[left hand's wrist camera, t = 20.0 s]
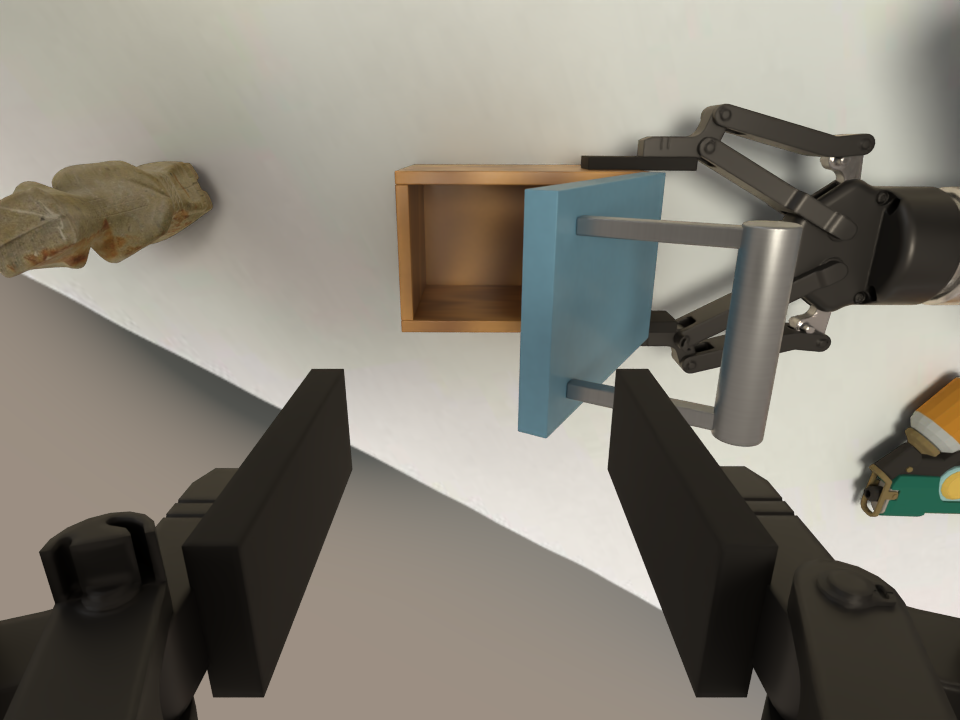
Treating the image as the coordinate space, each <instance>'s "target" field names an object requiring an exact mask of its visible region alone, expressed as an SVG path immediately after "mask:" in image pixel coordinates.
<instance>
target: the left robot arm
mask: <svg viewBox="0 0 960 720" xmlns="http://www.w3.org/2000/svg"><path fill="white" fill-rule="evenodd" d="M351 471H352V460H351V448H350V436H349V424H348V413H347V401H346V389H345V378H344V369H311V371H310V372H309V374H308V375H307V376H306V378H305V379H304V380H303V382H302V383H301V384H300V386H299V387H298V388H297V390H296V391H295V393H294V394H293V395H292V397H291V398H290V399H289V401H288V402H287V403H286V405H285V406H284V408H283V409H282V410H281V412H280V413H279V414H278V416H277V417H276V418H275V420H274V421H273V422H272V424H271V425H270V427H269V428H268V429H267V431H266V432H265V433H264V435H263V436H262V438H261V439H260V440H259V442H258V443H257V444H256V446H255V447H254V448H253V450H252V451H251V452H250V454H249V455H248V456H247V458H246V459H245V461H244V462H243V463H242V465H241V466H240V467H239V468H215V469H214V470H212V471H210V472H209V473H207V474H206V475H204V476H203V477H201V478H199V479H198V480H196V481H195V482H193V483H192V484H191V485H190V487H189V488H188V489H187V490H186V491H185V493H184V494H183V495H182V496H181V497H180V498H179V500H178V503H175V504H174V506H173V507H172V508H171V509H170V510H169V512H168V513H167V514H166V515H167V516H166V518H163V519H162V520H161V521H160V522H159V523H158V525H157V526H156V527H155V524H154V521H153V520H152V519H150V518H149V517H148V516H147V515H145V514H140V513H135V512H117V513H108V514H104V515H101V516H96V517H93V518H89V519H86V520H84V521H82V522H79V523H77V524H75V525H72V526H70V527H68V528H66V529H65V530H63V531H62V532H60V533H59V534H57V535H56V536H54V537H53V538H51V539H50V540H49V541H48V542H47V543H46V545H45V546H44V547H43V548H42V549H41V550H40V551H39V553H40V556H41V560H42V563H43V566H44V569H45V573H46V576H47V579H48V582H49V585H50V589H51V592H52V595H53V598H54V601H55V605H54V608H53V609H51V610H47V611H44V612H39V613H34V614H30V615H25V616H21V617H16V618H11V619H7V620H2V621H0V720H198V717H197V711H196V705H195V701H194V694H195V692H196V690H197V688H198V686H199V684H200V682H201V680H202V678H203V676H204V675H205V673H206V671H207V670H208V675H209V680H210V685H211V689H212V694H213V697H264V696H265V693H266V690H267V688H268V685H269V683H270V680H271V678H272V675H273V672H274V670H275V667H276V665H277V662H278V660H279V657H280V654H281V652H282V649H283V647H284V644H285V641H286V639H287V636H288V634H289V631H290V629H291V626H292V623H293V621H294V618H295V616H296V613H297V610H298V608H299V605H300V603H301V600H302V598H303V595H304V593H305V590H306V587H307V585H308V582H309V580H310V577H311V574H312V572H313V569H314V567H315V564H316V562H317V559H318V556H319V554H320V551H321V549H322V546H323V544H324V541H325V538H326V536H327V533H328V530H329V528H330V526H331V523H332V520H333V518H334V515H335V513H336V510H337V508H338V505H339V502H340V500H341V497H342V495H343V492H344V489H345V487H346V484H347V482H348V479H349V477H350V474H351ZM608 471H609V474H610V477H611V479H612V482H613V484H614V487H615V490H616V492H617V495H618V497H619V500H620V502H621V505H622V508H623V510H624V513H625V515H626V518H627V520H628V523H629V526H630V528H631V531H632V533H633V536H634V538H635V541H636V544H637V546H638V549H639V551H640V554H641V556H642V559H643V562H644V564H645V567H646V569H647V572H648V575H649V577H650V580H651V582H652V585H653V587H654V590H655V593H656V595H657V598H658V600H659V603H660V605H661V608H662V611H663V613H664V616H665V618H666V621H667V623H668V626H669V629H670V631H671V634H672V636H673V639H674V641H675V644H676V647H677V649H678V652H679V654H680V657H681V659H682V662H683V665H684V667H685V670H686V672H687V675H688V677H689V680H690V683H691V685H692V688H693V690H694V693H695V696H696V697H747V694H748V689H749V684H750V680H751V675H752V670H753V668H754V670H755V672H756V673H757V675H758V677H759V679H760V681H761V683H762V685H763V687H764V689H765V691H766V693H767V696H766V700H765V705H764V709H763V714H762V718H761V720H960V618H956V617H952V616H947V615H942V614H938V613H933V612H928V611H924V610H919V609H915V608H911V607H908V606H906V604H905V602H904V601H903V600H902V598H901V597H900V596H899V594H898V593H897V592H896V590H895V589H894V588H892V587H891V586H890V585H889V584H887V583H886V582H885V581H883V580H882V579H881V578H879V577H878V576H876V575H874V574H872V573H870V572H868V571H866V570H864V569H862V568H860V567H858V566H854V565H851V564H847V563H844V562H840V561H835V560H834V559H833V557H832V556H831V555H830V554H829V553H828V552H827V550H826V549H825V548H824V547H823V546H822V544H821V543H820V542H819V541H818V540H817V539H816V537H815V536H814V535H813V534H812V533H811V531H810V530H809V529H808V528H807V527H806V526H805V524H804V523H803V522H802V521H801V520H800V518H799V517H798V516H795V515H794V511H793V510H792V509H791V508H790V507H789V505H788V504H787V503H786V502H785V501H782V497H781V496H780V495H779V494H778V492H777V491H776V490H775V489H774V488H773V486H772V485H771V484H770V483H769V482H768V481H767V480H766V479H764V478H762V477H761V476H759V475H758V474H756V473H754V472H753V471H751V470H750V469H748V468H747V467H745V466H719V465H718V463H717V462H716V461H715V459H714V458H713V456H712V455H711V454H710V452H709V451H708V450H707V448H706V447H705V446H704V444H703V443H702V442H701V440H700V439H699V437H698V436H697V435H696V433H695V432H694V431H693V429H692V428H691V427H690V425H689V424H688V422H687V421H686V420H685V418H684V417H683V416H682V414H681V413H680V412H679V410H678V409H677V408H676V406H675V405H674V403H673V402H672V401H671V399H670V398H669V397H668V395H667V394H666V393H665V391H664V390H663V389H662V387H661V386H660V384H659V383H658V382H657V380H656V379H655V378H654V376H653V375H652V374H651V372H650V371H649V369H616V378H615V389H614V401H613V413H612V424H611V436H610V448H609V459H608Z"/></svg>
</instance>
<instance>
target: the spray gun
mask: <svg viewBox="0 0 960 720" xmlns="http://www.w3.org/2000/svg"><path fill="white" fill-rule="evenodd" d="M910 419H911V428H910V427H909V428H908V429H906V430H905V434H906V436H907V440H908V442H906V443H904V444H902V445H901V446H899V447H898V448H896V449H895V450H893V451H892V452H890V453H889V454H888V455H886V456H885V457H883V458H882V459H880V460H879V461H878V462H876V463H875V465H874V464H872V465H871V466H869V468H870V470H871V471H872V474H871V476H870V479H869V481H868V484H867V487H866V489H865V490H864V494H863V497H862V499H861V508H862V509H863V511H864V512H865V513H866V514H867V515H869V516H870V517H876V516H878V515H884V516H915V517H917V516H922V515H924V513H947V514H960V377H956V378H955V379H953V380H952V381H951V382H950V383H948V384H947V385H946V386H945V387H944V388H942V389H941V390H940V391H939V392H937V393H936V394H935V395H934V396H933V397H931V398H930V399H929V400H928V401H926V402H925V403H924V404H923V405H922V406H920V407H919V408H918V409H917V410H915V412H914V413H913V415H912V416H911V418H910ZM877 475H878V478H879V479H880V480H876V477H877ZM867 500H869V501H871V504H872V508H873V510H874V512H872V511H870V510H869V508H868V507H867Z"/></svg>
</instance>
